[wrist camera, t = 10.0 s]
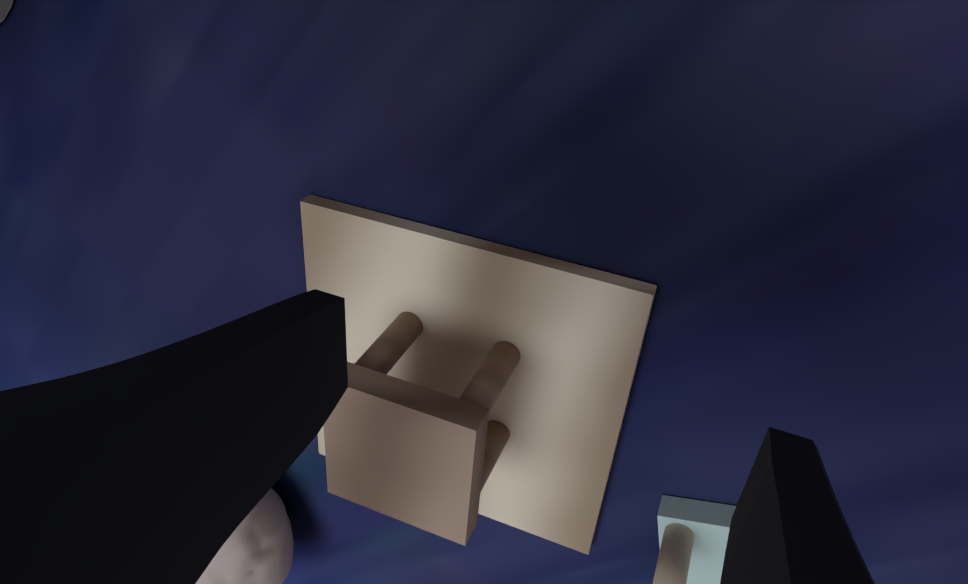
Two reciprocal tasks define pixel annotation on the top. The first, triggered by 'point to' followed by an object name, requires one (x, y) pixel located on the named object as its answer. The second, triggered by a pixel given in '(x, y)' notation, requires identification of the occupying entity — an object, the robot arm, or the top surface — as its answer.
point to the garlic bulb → (255, 548)
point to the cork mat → (473, 332)
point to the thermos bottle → (5, 8)
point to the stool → (416, 437)
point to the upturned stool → (691, 540)
